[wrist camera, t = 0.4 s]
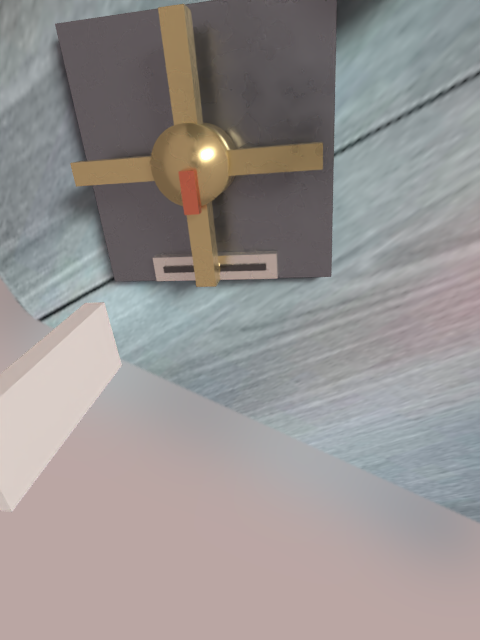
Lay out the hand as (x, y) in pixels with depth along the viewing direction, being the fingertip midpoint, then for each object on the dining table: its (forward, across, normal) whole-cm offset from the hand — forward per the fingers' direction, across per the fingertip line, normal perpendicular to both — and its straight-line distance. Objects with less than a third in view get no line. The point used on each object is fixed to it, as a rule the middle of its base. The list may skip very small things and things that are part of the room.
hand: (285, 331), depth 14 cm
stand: (+26, -8, +4) cm, 28 cm away
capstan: (+24, -8, +4) cm, 26 cm away
